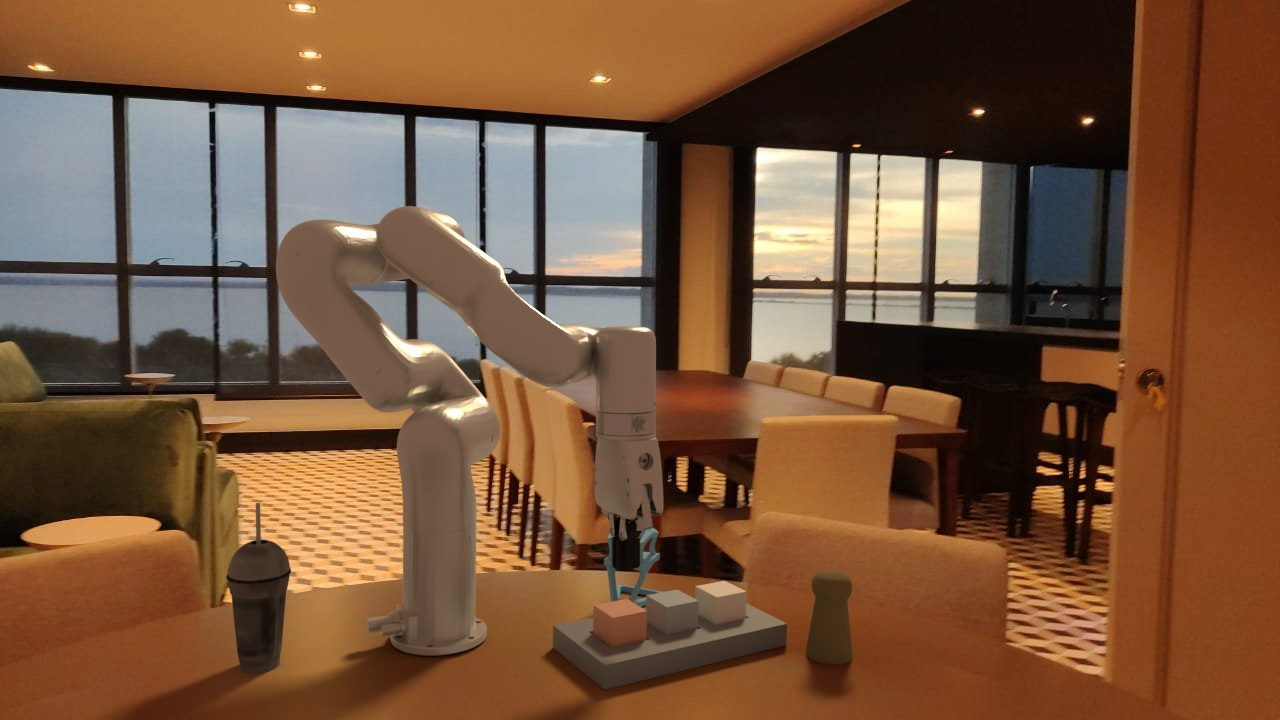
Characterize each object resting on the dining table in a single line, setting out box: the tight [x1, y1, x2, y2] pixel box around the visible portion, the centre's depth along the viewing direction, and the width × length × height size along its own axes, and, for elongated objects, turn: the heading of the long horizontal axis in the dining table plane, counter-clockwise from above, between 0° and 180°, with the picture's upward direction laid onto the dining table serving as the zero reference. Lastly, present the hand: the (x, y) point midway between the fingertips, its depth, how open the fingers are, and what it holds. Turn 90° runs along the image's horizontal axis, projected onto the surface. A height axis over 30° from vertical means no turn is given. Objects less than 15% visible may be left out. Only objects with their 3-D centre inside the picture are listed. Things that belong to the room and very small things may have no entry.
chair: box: [603, 526, 662, 608], centre depth 132 cm, size 8×8×12 cm
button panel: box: [552, 597, 788, 691], centre depth 116 cm, size 28×14×3 cm, turn 122°
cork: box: [805, 569, 853, 665], centre depth 115 cm, size 6×6×11 cm
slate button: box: [645, 589, 699, 636], centre depth 116 cm, size 5×5×4 cm
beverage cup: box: [226, 502, 292, 674], centre depth 107 cm, size 7×7×20 cm
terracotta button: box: [592, 598, 647, 648], centre depth 112 cm, size 5×5×4 cm
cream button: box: [694, 580, 748, 625], centre depth 120 cm, size 5×5×4 cm
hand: (626, 567), depth 111 cm, fingers closed
